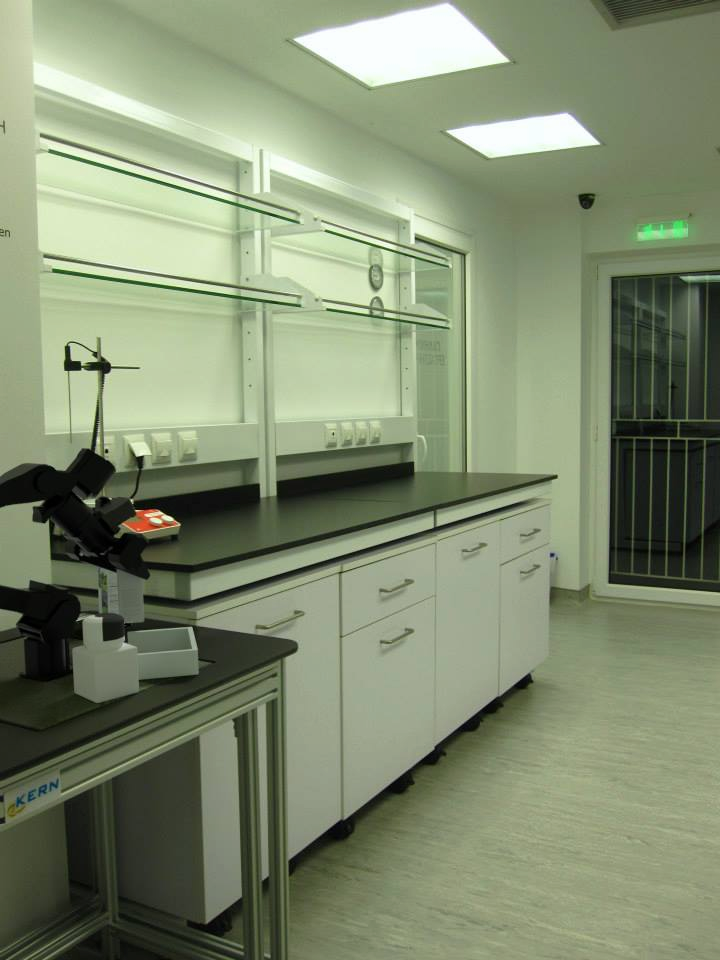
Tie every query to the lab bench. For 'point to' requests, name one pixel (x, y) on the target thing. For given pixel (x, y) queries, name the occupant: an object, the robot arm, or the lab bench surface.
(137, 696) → the lab bench surface
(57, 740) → the lab bench surface
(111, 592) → the syrup box
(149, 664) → the open box
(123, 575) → the skincare box
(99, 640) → the medicine bottle
